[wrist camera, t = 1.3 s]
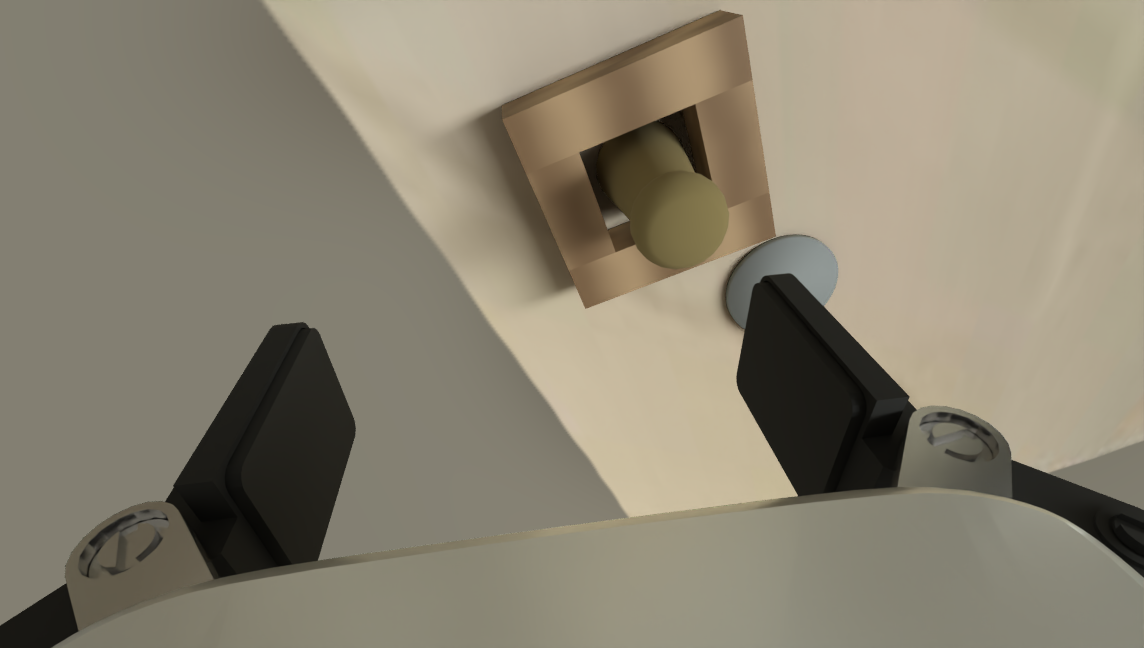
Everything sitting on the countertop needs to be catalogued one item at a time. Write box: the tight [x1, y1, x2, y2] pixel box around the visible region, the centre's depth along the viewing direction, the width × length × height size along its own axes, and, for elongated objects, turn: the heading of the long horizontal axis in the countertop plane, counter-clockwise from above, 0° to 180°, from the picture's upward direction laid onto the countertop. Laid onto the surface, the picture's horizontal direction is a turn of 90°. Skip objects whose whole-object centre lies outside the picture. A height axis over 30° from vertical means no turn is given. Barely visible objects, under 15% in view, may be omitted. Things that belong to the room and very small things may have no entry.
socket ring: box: [502, 10, 776, 309], centre depth 34 cm, size 14×14×4 cm
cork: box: [596, 121, 729, 269], centre depth 31 cm, size 6×6×11 cm
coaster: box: [726, 235, 838, 329], centre depth 42 cm, size 9×9×1 cm
